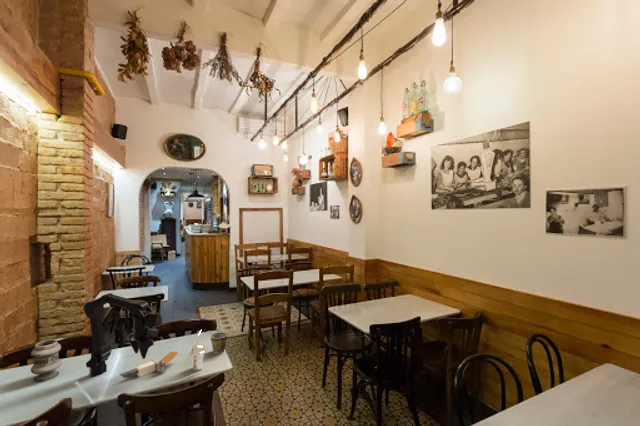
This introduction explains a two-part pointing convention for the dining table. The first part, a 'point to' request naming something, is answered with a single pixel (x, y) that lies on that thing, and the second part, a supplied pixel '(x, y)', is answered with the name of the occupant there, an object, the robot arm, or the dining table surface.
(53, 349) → the apothecary jar
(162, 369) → the grey piece
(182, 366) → the dining table surface
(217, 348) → the ceramic cup
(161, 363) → the copper metal plate
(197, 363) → the cup with straw
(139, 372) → the plug
